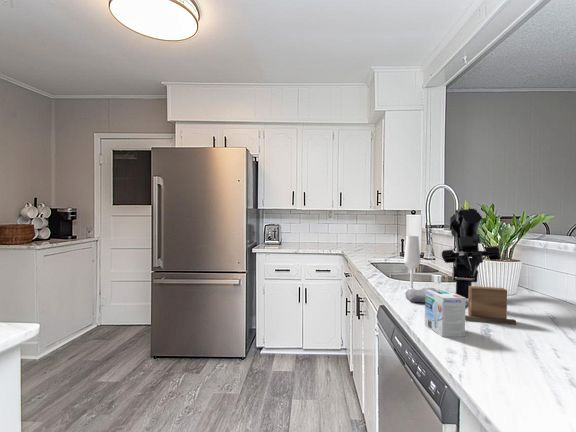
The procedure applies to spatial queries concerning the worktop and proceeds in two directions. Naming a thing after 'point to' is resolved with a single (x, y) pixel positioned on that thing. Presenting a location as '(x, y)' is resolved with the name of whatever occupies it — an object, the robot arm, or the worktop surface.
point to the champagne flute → (412, 256)
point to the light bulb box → (445, 313)
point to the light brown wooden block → (487, 302)
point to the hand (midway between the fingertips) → (472, 276)
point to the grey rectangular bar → (490, 320)
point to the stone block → (417, 294)
